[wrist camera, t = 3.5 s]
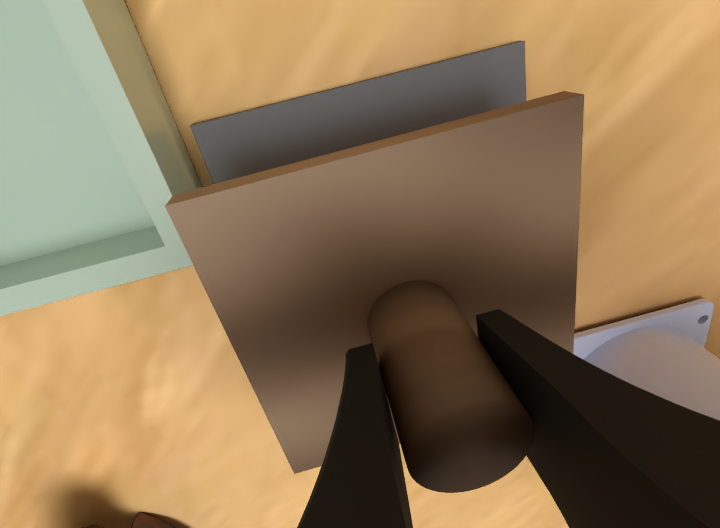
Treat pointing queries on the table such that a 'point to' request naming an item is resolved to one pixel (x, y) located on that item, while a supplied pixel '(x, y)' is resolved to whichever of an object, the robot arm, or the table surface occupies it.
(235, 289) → the lid
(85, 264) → the dish
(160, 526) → the pottery mug
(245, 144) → the mat
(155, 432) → the table surface
